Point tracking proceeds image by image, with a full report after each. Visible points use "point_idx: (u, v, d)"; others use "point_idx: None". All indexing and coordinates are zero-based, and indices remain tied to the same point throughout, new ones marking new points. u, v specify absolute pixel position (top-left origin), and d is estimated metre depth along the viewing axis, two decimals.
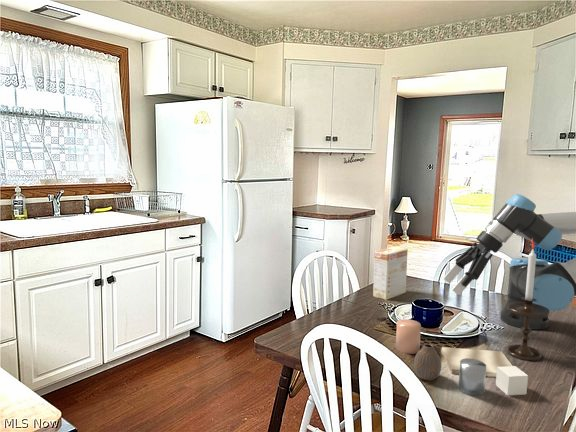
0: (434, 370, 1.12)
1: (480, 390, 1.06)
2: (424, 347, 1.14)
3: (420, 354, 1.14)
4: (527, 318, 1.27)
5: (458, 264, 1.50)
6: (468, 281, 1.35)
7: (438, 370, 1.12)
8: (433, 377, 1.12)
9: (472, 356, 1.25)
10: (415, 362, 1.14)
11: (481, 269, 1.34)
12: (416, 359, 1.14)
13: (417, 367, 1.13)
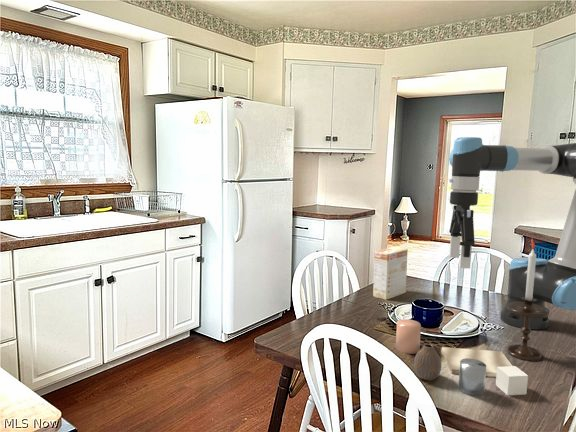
0: (434, 370, 1.12)
1: (480, 390, 1.06)
2: (424, 347, 1.14)
3: (420, 354, 1.14)
4: (527, 318, 1.27)
5: (454, 235, 1.35)
6: (468, 250, 1.20)
7: (438, 370, 1.12)
8: (433, 377, 1.12)
9: (472, 356, 1.25)
10: (415, 362, 1.14)
11: (471, 231, 1.19)
12: (416, 359, 1.14)
13: (417, 367, 1.13)
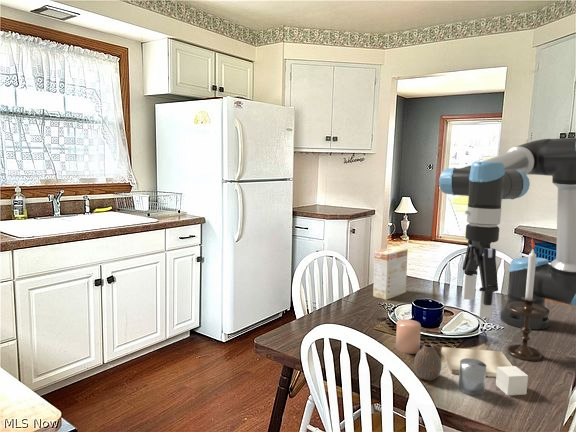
0: (434, 370, 1.12)
1: (480, 390, 1.06)
2: (424, 347, 1.14)
3: (420, 354, 1.14)
4: (527, 318, 1.27)
5: (468, 273, 1.16)
6: (490, 297, 1.01)
7: (438, 370, 1.12)
8: (433, 377, 1.12)
9: (472, 356, 1.25)
10: (415, 362, 1.14)
11: (494, 275, 1.00)
12: (416, 359, 1.14)
13: (417, 367, 1.13)
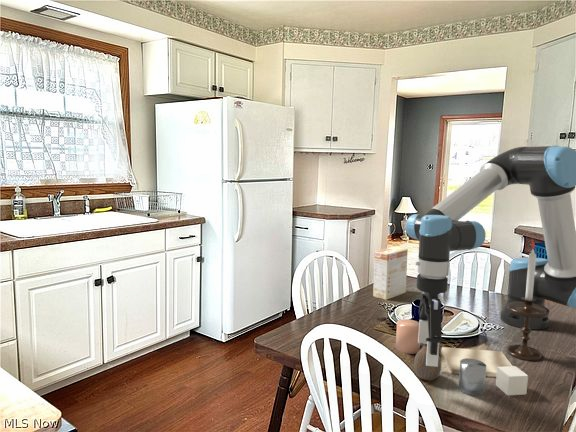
0: (434, 370, 1.12)
1: (480, 390, 1.06)
2: (424, 347, 1.14)
3: (420, 354, 1.14)
4: (527, 318, 1.27)
5: (423, 318, 1.20)
6: (435, 347, 1.05)
7: (438, 370, 1.12)
8: (433, 377, 1.12)
9: (472, 356, 1.25)
10: (415, 362, 1.14)
11: (439, 327, 1.04)
12: (416, 359, 1.14)
13: (417, 367, 1.13)
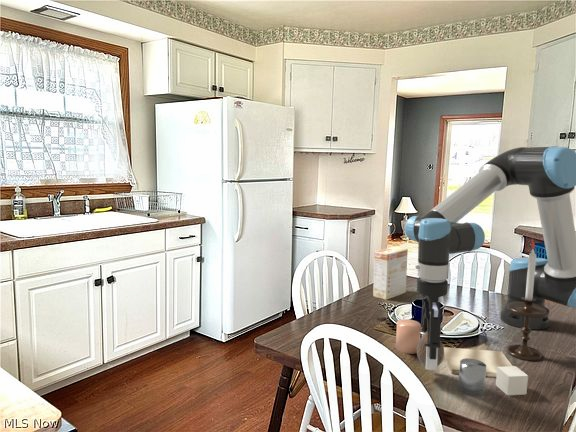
0: None
1: (480, 390, 1.06)
2: (427, 333, 1.13)
3: (422, 341, 1.13)
4: (527, 318, 1.27)
5: (425, 330, 1.18)
6: (434, 352, 1.09)
7: (441, 356, 1.12)
8: None
9: (472, 356, 1.25)
10: (418, 349, 1.14)
11: (438, 334, 1.07)
12: (419, 346, 1.14)
13: (420, 354, 1.13)
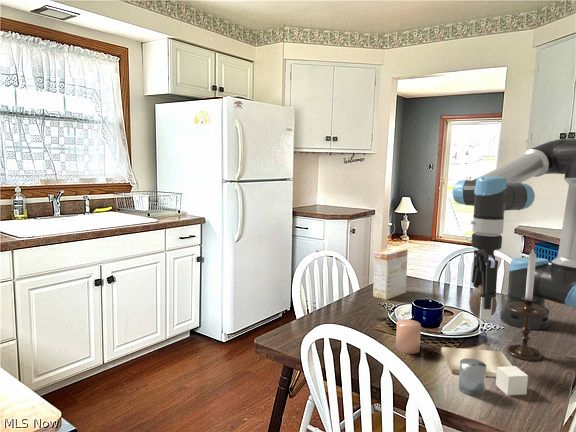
0: None
1: (480, 390, 1.06)
2: (480, 286, 1.19)
3: (476, 293, 1.19)
4: (527, 318, 1.27)
5: (477, 285, 1.24)
6: (489, 302, 1.15)
7: (494, 307, 1.18)
8: None
9: (472, 356, 1.25)
10: (471, 301, 1.20)
11: (494, 284, 1.13)
12: (472, 298, 1.20)
13: (474, 306, 1.19)
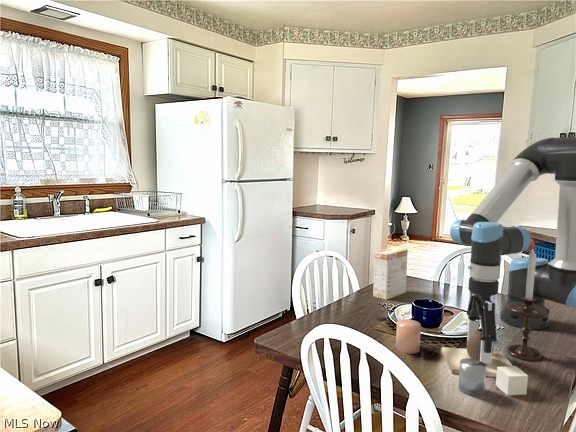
0: None
1: (480, 390, 1.06)
2: (477, 331, 1.21)
3: (473, 338, 1.21)
4: (527, 318, 1.27)
5: (472, 318, 1.28)
6: (489, 346, 1.14)
7: None
8: None
9: None
10: (468, 346, 1.22)
11: (493, 327, 1.12)
12: (469, 343, 1.22)
13: (471, 350, 1.21)
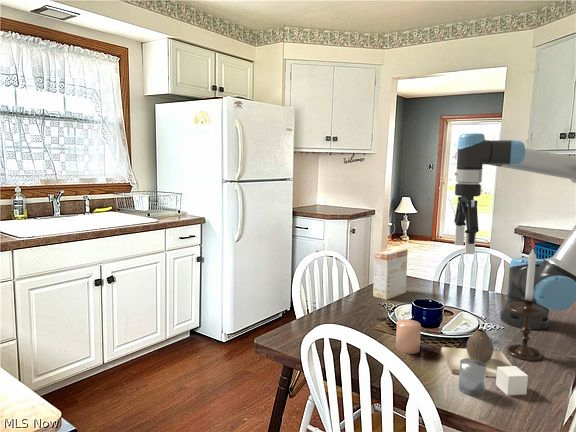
0: (487, 353, 1.19)
1: (480, 390, 1.06)
2: (477, 331, 1.21)
3: (473, 338, 1.21)
4: (527, 318, 1.27)
5: (458, 224, 1.46)
6: (472, 237, 1.31)
7: (491, 353, 1.20)
8: (486, 359, 1.20)
9: None
10: (468, 346, 1.22)
11: (475, 220, 1.30)
12: (469, 343, 1.22)
13: (471, 350, 1.21)
